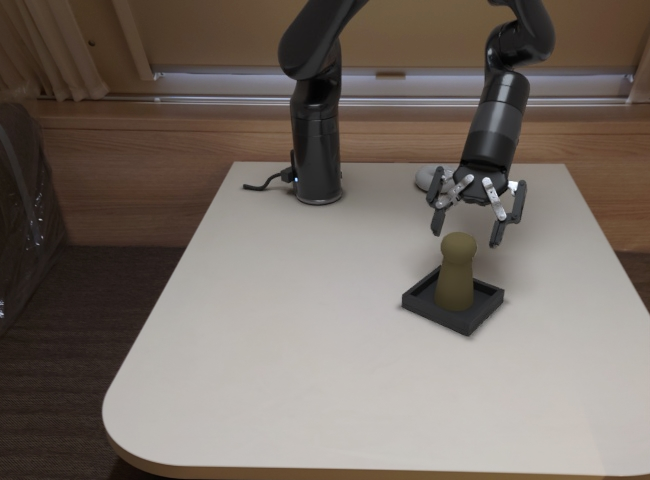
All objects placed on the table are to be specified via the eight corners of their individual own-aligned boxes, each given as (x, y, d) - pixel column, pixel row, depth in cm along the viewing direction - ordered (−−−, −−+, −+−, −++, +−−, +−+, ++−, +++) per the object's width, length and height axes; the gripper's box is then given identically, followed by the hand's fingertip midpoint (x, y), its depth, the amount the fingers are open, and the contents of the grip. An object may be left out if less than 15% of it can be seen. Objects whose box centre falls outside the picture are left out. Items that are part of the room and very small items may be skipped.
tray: (401, 306, 88) (401, 294, 86) (439, 276, 94) (440, 264, 93) (468, 336, 82) (469, 323, 80) (503, 301, 88) (505, 289, 87)
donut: (417, 175, 128) (412, 193, 120) (417, 160, 126) (413, 178, 118) (462, 178, 127) (460, 197, 118) (463, 163, 125) (462, 181, 117)
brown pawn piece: (472, 313, 85) (480, 249, 78) (431, 308, 86) (436, 244, 79) (474, 290, 90) (482, 228, 83) (435, 286, 91) (440, 224, 84)
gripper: (442, 122, 86) (412, 223, 84) (539, 135, 81) (509, 243, 79) (451, 144, 93) (423, 238, 91) (540, 158, 88) (513, 258, 86)
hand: (463, 241), depth 85 cm, fingers open, 8 cm apart
